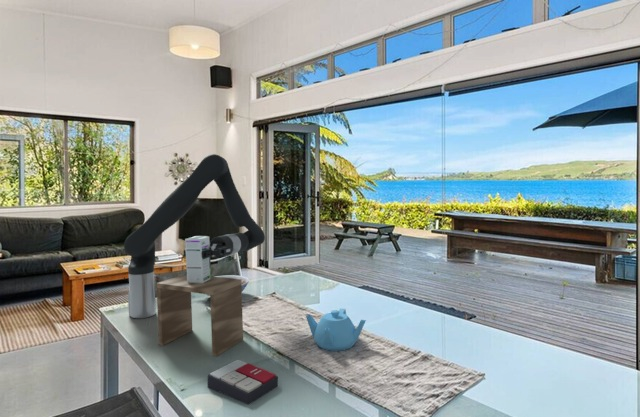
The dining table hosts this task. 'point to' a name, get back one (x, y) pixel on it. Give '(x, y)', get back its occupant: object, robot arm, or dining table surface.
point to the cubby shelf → (179, 310)
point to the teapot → (335, 330)
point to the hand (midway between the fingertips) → (193, 254)
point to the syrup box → (197, 259)
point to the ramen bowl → (243, 279)
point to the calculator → (242, 381)
